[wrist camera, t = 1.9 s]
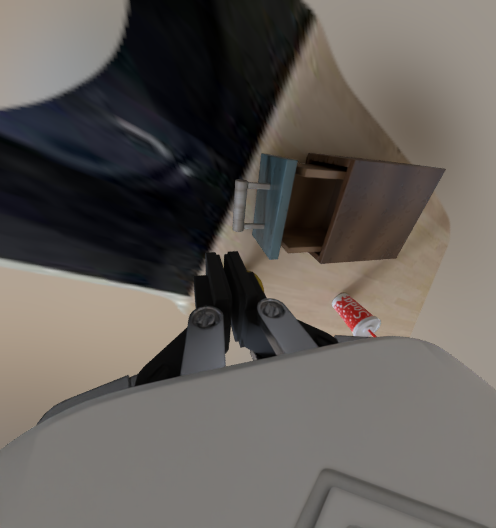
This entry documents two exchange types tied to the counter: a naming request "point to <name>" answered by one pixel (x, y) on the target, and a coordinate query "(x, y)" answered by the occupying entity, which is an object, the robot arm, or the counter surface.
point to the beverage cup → (356, 316)
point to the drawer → (289, 204)
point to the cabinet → (374, 207)
